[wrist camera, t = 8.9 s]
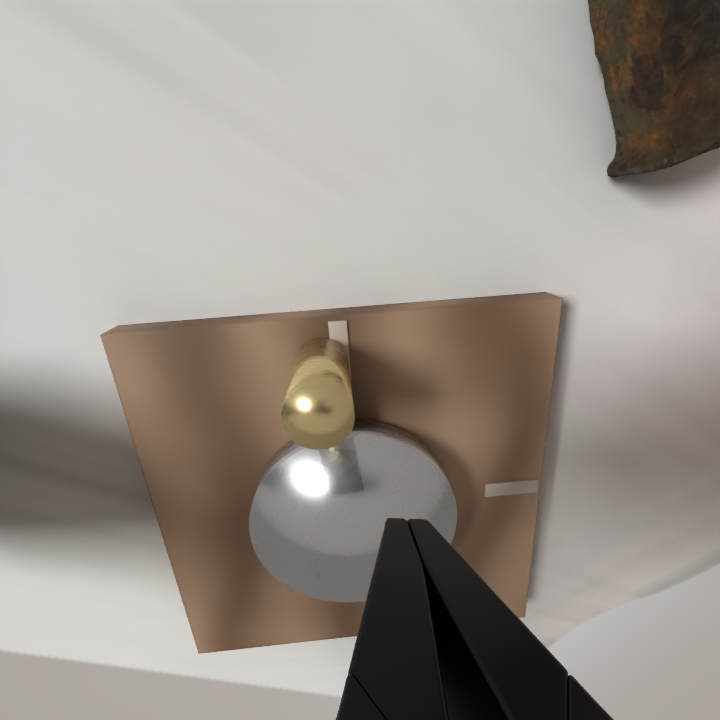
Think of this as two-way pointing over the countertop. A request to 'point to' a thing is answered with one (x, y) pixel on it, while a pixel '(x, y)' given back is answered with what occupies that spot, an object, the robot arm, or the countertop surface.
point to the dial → (339, 484)
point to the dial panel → (371, 402)
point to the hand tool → (659, 79)
